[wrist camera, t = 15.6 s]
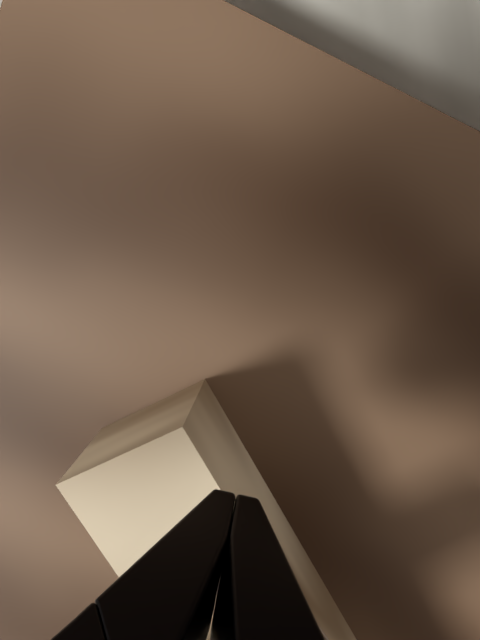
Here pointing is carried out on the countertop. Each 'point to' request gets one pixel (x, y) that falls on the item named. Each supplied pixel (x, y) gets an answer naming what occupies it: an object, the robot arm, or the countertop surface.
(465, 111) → the countertop surface
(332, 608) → the link
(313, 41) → the countertop surface
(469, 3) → the countertop surface
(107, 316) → the base board
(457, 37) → the countertop surface
